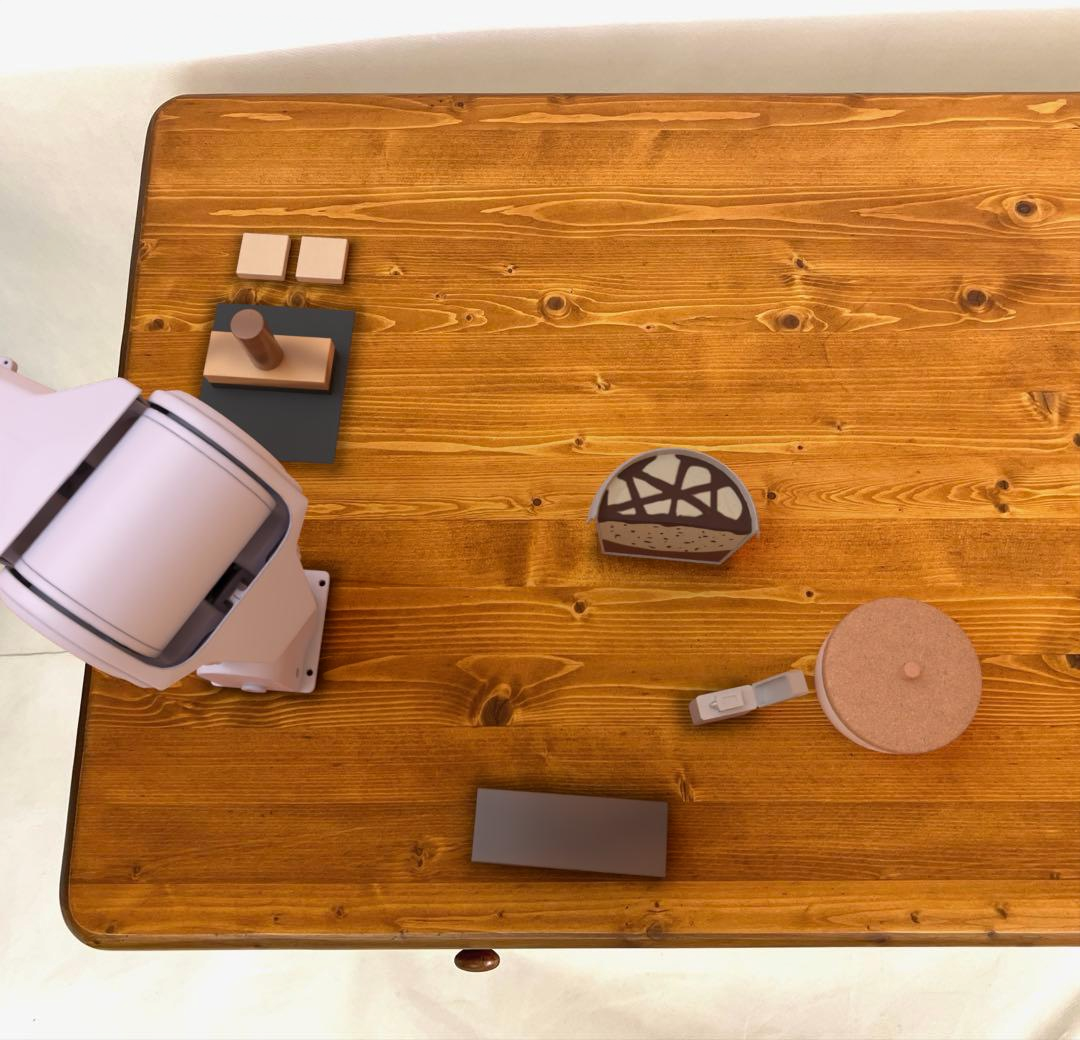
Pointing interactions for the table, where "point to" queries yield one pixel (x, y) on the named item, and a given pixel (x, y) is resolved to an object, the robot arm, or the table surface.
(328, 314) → the mat
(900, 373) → the table surface
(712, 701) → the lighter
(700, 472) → the brown half-round block
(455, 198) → the table surface
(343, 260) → the chip right
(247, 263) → the chip left
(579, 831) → the dark grey rectangular block
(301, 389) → the brown block with peg
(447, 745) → the table surface
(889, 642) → the trinket box
